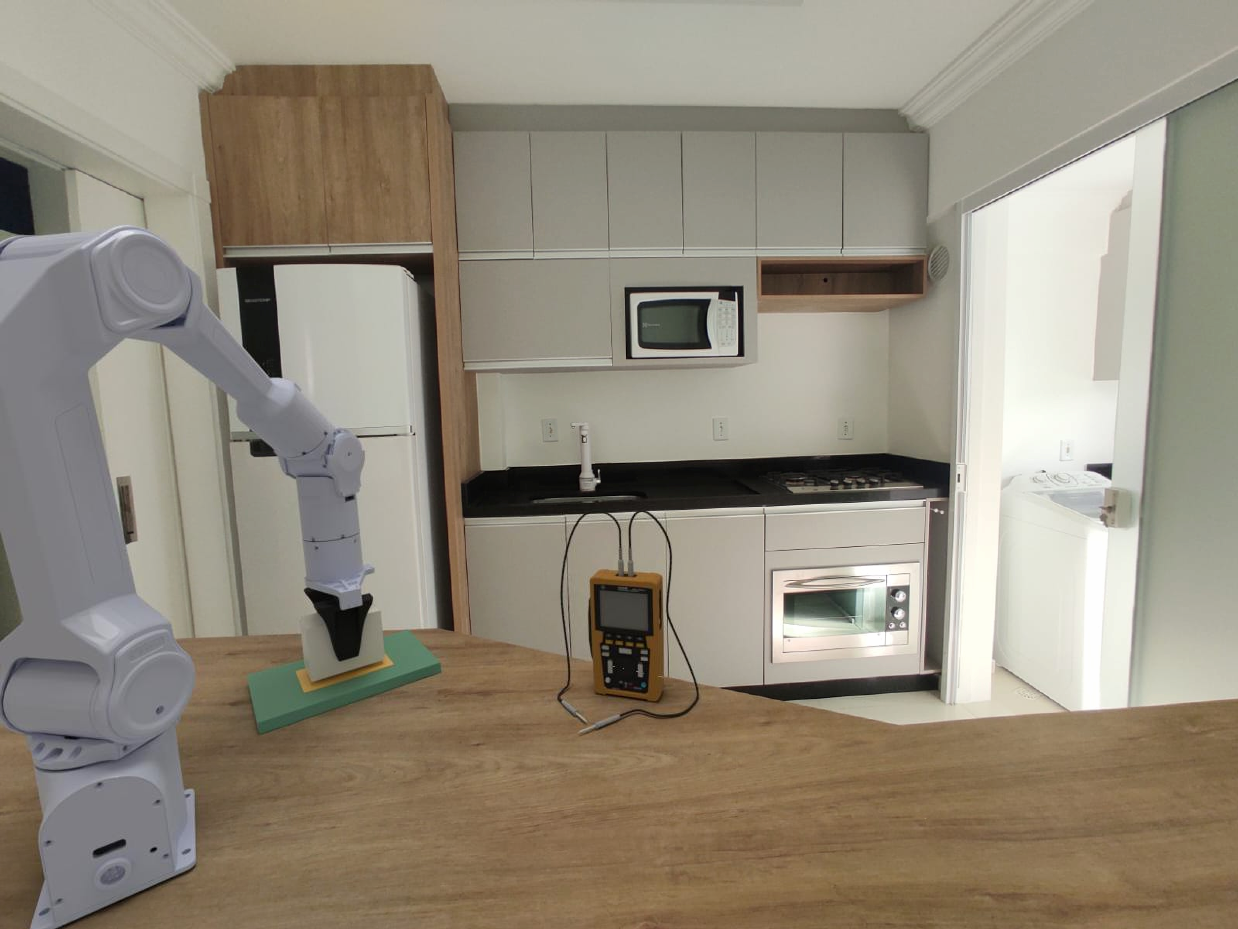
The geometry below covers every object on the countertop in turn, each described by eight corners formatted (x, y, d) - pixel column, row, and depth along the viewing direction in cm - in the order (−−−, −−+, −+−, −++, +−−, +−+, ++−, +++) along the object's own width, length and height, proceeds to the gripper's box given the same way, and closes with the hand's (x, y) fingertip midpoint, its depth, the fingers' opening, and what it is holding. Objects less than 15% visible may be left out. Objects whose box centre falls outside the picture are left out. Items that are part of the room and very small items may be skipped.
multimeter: (532, 729, 52) (521, 527, 50) (571, 677, 62) (564, 505, 59) (682, 755, 48) (679, 535, 45) (700, 694, 57) (698, 510, 55)
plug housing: (385, 659, 63) (380, 610, 63) (311, 682, 59) (305, 629, 58) (374, 646, 67) (370, 599, 66) (304, 667, 62) (299, 617, 61)
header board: (441, 671, 64) (438, 642, 63) (259, 734, 53) (254, 699, 52) (408, 638, 73) (406, 611, 73) (248, 685, 62) (244, 654, 62)
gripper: (387, 541, 58) (398, 661, 59) (354, 518, 69) (364, 620, 71) (312, 554, 53) (326, 684, 55) (290, 528, 64) (302, 637, 66)
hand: (343, 650), depth 62 cm, fingers closed on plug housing, 4 cm apart
